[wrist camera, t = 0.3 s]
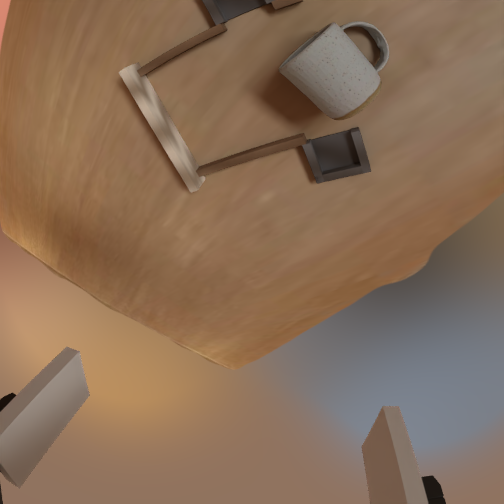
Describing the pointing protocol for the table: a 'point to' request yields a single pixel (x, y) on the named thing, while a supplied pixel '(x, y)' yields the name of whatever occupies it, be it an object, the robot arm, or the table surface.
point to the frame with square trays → (317, 150)
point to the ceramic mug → (336, 70)
